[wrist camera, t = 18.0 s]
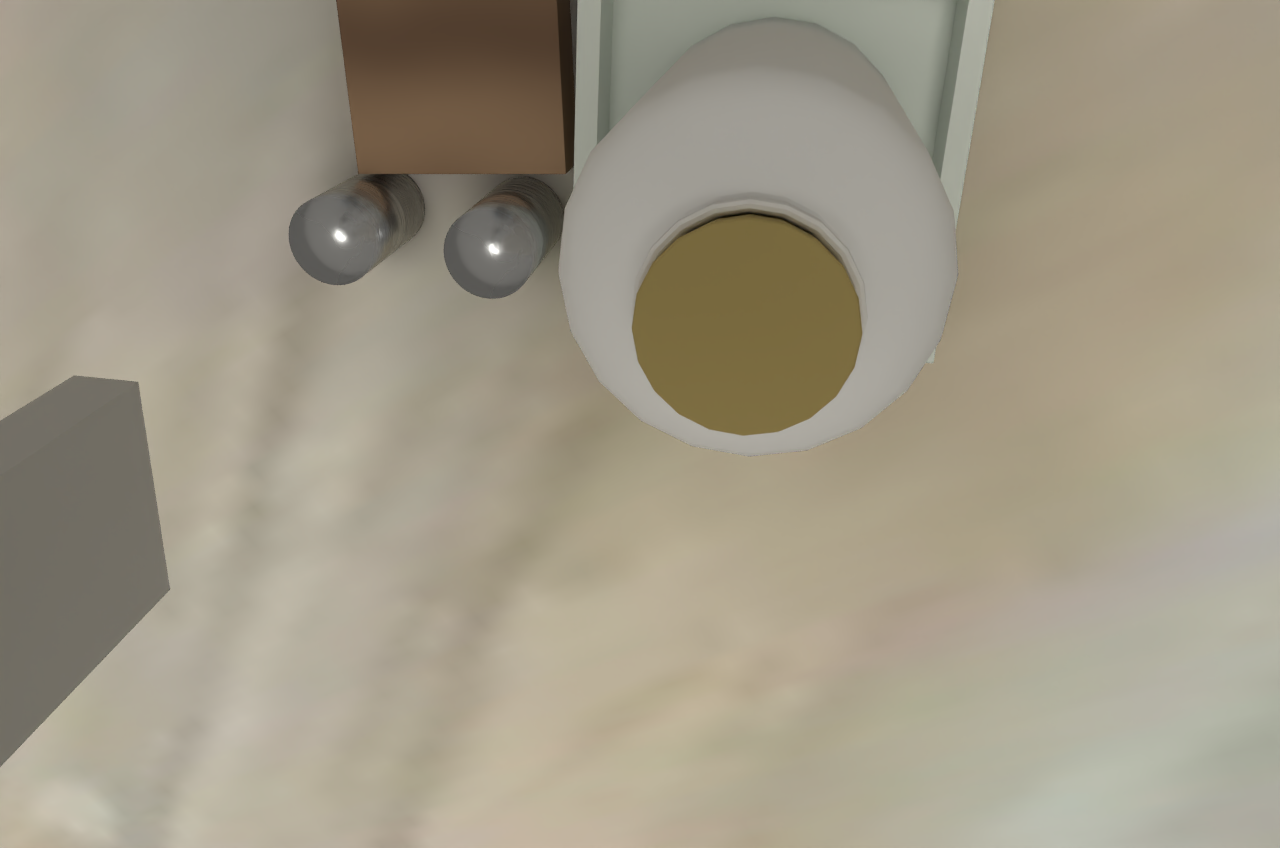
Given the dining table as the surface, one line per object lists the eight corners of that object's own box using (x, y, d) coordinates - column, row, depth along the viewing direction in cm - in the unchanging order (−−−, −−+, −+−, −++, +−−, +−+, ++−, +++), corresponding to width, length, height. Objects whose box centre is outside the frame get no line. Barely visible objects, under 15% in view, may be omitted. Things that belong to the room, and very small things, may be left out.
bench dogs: (345, 163, 38) (284, 193, 34) (564, 180, 38) (533, 213, 33) (350, 241, 40) (292, 281, 35) (563, 259, 39) (532, 302, 34)
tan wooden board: (346, -161, 35) (314, -168, 32) (564, -171, 34) (547, -178, 32) (384, 160, 39) (358, 173, 36) (580, 159, 38) (565, 173, 36)
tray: (596, -60, 34) (579, -59, 32) (984, -39, 33) (1001, -37, 31) (586, 303, 39) (570, 330, 37) (923, 332, 38) (933, 363, 35)
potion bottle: (688, 303, 38) (606, 577, 22) (608, 65, 35) (444, 178, 19) (928, 233, 36) (1033, 478, 20) (863, -26, 33) (924, 14, 17)
